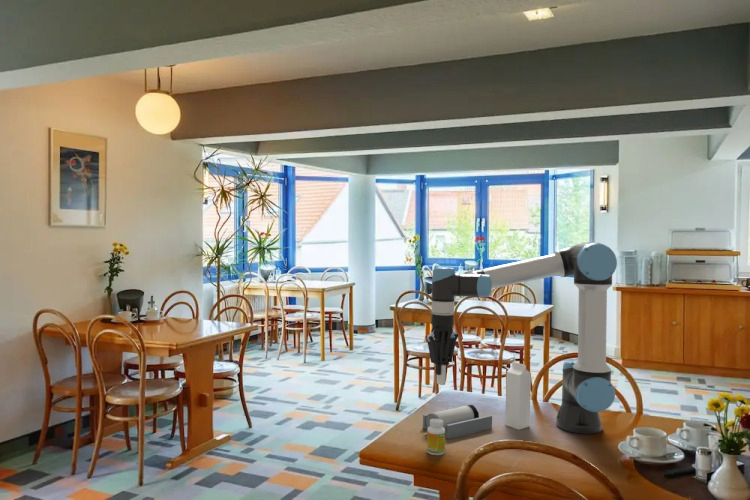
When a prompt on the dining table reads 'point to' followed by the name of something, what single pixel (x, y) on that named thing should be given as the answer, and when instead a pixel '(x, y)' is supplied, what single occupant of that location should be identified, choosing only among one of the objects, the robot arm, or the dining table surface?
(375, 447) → the dining table surface
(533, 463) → the dining table surface
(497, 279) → the robot arm
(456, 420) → the travel mug
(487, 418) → the cradle
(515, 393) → the milk
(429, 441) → the supplement bottle
